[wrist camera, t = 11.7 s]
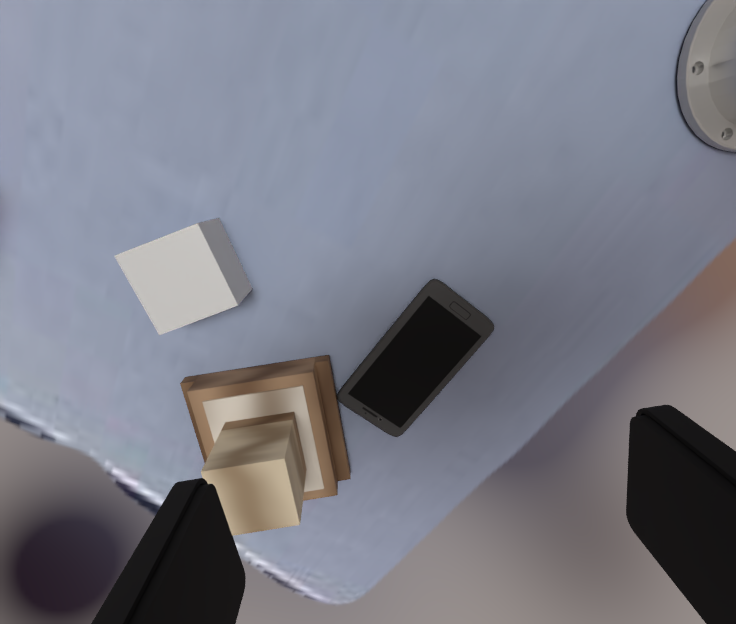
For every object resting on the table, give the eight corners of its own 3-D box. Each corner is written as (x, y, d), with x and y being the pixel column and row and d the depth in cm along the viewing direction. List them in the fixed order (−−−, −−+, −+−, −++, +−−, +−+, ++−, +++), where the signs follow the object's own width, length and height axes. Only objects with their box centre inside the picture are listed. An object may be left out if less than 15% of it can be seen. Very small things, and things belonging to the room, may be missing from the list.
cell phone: (495, 323, 36) (498, 326, 35) (396, 436, 38) (397, 441, 38) (432, 274, 34) (434, 275, 33) (333, 395, 37) (333, 399, 36)
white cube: (219, 217, 31) (197, 223, 27) (252, 288, 33) (238, 305, 28) (148, 245, 32) (114, 255, 27) (185, 314, 34) (159, 335, 29)
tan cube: (294, 411, 33) (284, 458, 27) (306, 469, 35) (299, 524, 29) (225, 422, 33) (201, 471, 27) (241, 479, 35) (221, 537, 29)
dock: (329, 354, 35) (327, 370, 32) (350, 470, 39) (350, 494, 36) (185, 377, 35) (170, 394, 32) (220, 491, 38) (210, 517, 35)
